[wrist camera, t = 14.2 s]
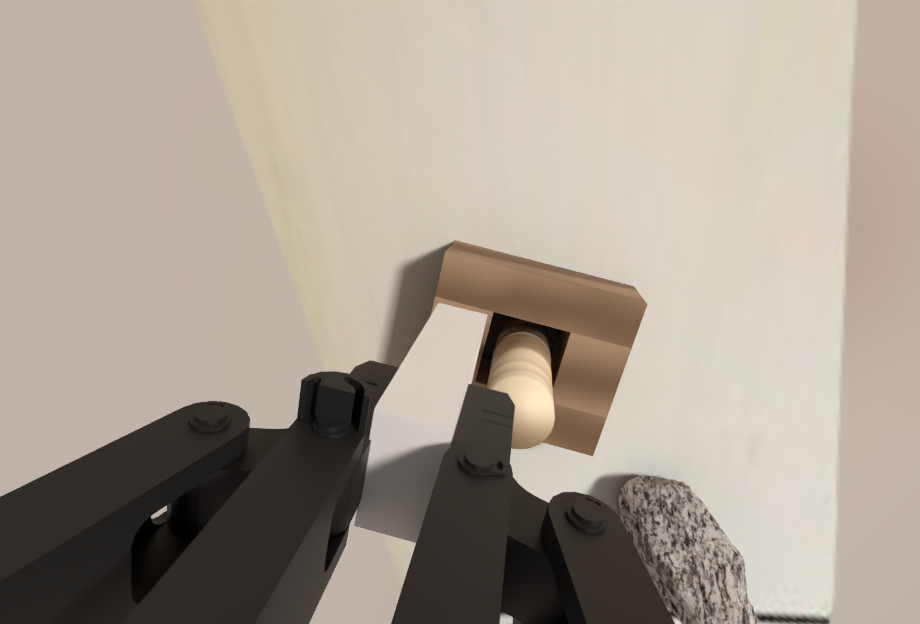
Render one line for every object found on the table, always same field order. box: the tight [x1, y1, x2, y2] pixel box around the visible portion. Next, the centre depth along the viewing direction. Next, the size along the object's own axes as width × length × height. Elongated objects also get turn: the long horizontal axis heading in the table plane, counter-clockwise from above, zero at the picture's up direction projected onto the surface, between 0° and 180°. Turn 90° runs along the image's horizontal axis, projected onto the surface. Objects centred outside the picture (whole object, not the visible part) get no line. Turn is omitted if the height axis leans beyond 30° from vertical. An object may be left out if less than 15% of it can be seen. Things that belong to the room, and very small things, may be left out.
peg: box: [487, 317, 555, 449], centre depth 36 cm, size 4×4×14 cm
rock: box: [616, 476, 759, 624], centre depth 43 cm, size 16×8×10 cm, turn 13°
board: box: [431, 241, 647, 456], centre depth 41 cm, size 12×14×5 cm
